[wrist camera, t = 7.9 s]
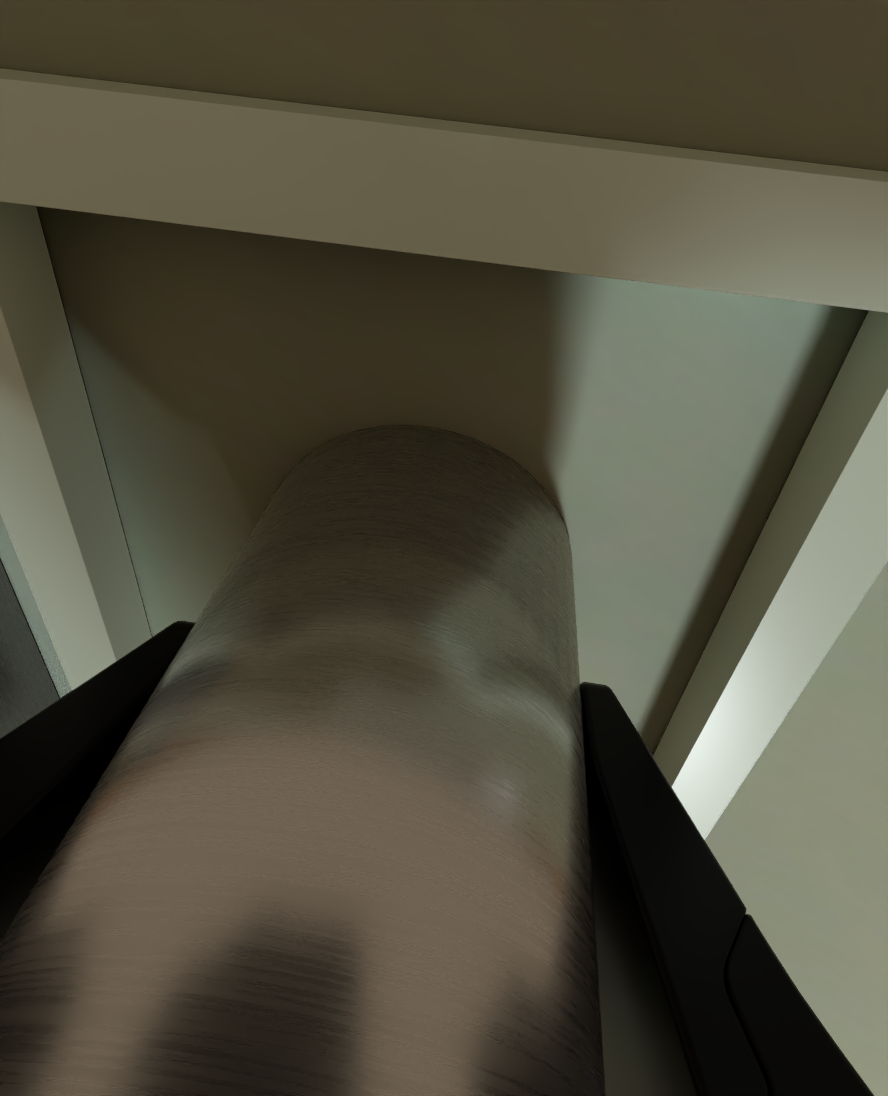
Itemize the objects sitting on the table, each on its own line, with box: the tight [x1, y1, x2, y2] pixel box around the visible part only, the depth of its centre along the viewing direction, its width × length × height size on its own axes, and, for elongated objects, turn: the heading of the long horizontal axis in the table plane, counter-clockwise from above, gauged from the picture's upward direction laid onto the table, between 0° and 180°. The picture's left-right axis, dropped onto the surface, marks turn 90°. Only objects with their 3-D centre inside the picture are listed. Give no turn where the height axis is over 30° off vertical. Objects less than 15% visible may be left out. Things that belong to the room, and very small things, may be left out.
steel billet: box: [0, 425, 606, 1096], centre depth 8 cm, size 6×6×9 cm
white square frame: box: [0, 68, 888, 840], centre depth 11 cm, size 13×13×1 cm
